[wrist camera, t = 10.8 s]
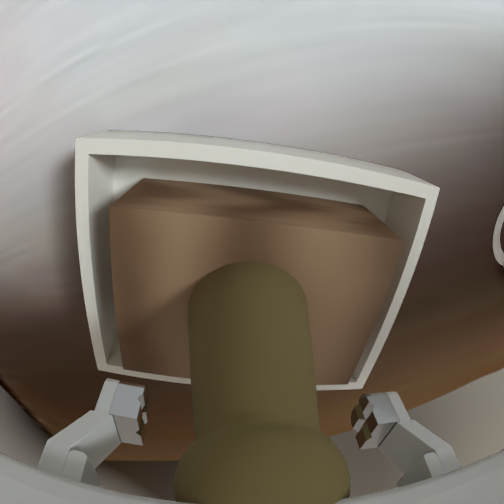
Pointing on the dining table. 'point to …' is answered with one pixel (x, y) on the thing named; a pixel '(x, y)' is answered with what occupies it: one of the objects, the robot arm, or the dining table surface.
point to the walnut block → (238, 250)
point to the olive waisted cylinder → (255, 395)
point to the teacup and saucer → (498, 239)
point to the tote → (238, 175)
